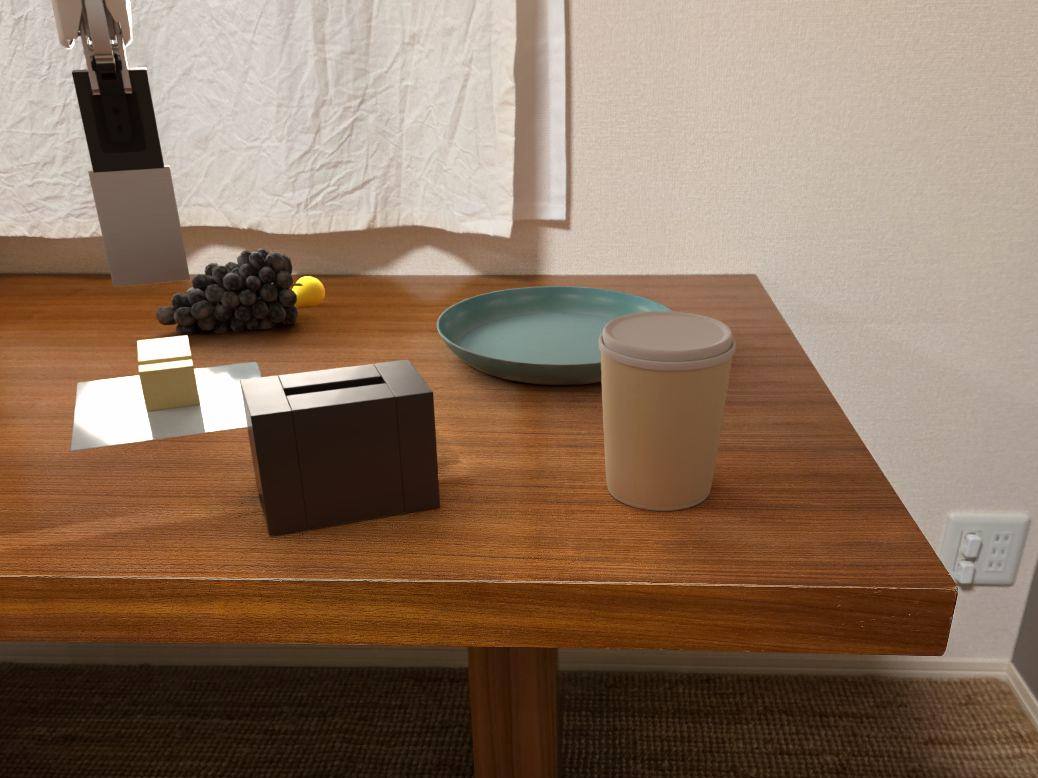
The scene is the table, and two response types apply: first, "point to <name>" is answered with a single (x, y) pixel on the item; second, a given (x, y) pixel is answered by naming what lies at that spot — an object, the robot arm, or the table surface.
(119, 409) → the butter dish
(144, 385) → the tan square block
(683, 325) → the coffee cup
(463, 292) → the table surface
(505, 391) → the table surface
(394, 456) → the stand
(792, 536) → the table surface
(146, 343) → the butter
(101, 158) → the knife
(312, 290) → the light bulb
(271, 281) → the fruit
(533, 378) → the teal plate
